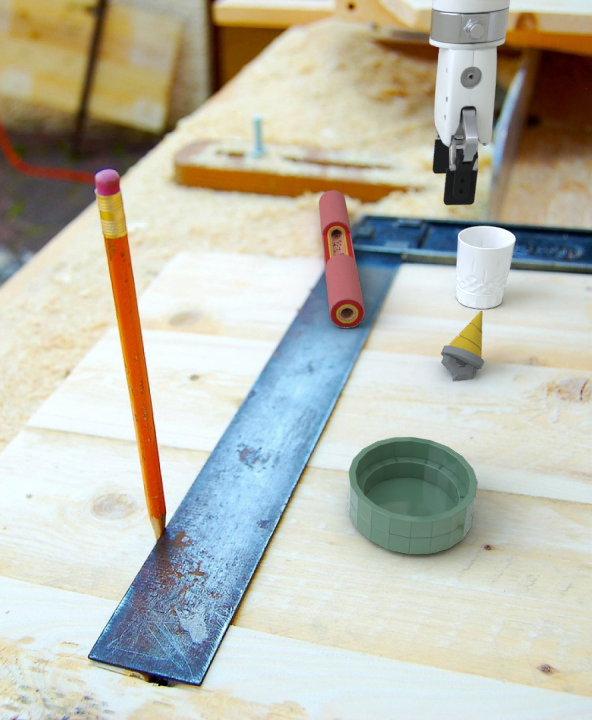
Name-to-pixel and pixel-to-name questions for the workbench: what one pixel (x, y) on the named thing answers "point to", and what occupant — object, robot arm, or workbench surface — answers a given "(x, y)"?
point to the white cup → (483, 265)
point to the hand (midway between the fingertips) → (451, 187)
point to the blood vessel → (340, 262)
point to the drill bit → (465, 351)
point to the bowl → (411, 495)
